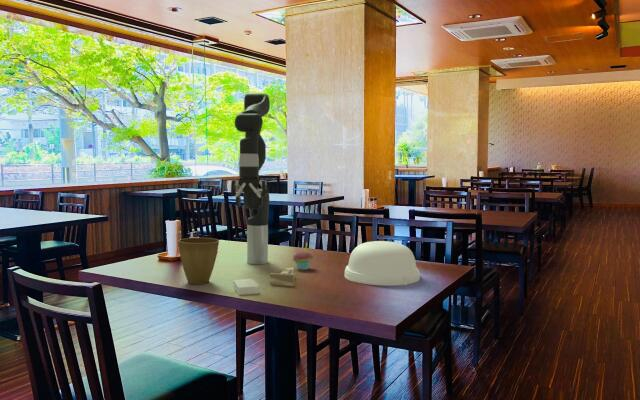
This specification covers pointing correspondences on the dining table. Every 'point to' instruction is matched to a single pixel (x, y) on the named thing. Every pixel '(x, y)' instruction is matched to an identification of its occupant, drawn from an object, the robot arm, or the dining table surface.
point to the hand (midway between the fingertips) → (249, 206)
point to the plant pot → (198, 258)
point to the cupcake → (303, 259)
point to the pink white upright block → (246, 286)
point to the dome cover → (382, 264)
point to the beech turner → (283, 277)
